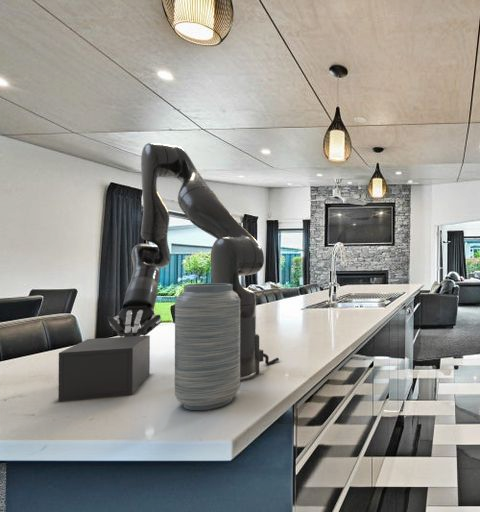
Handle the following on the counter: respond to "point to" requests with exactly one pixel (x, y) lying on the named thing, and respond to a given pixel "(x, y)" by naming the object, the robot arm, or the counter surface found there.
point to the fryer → (103, 367)
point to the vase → (207, 345)
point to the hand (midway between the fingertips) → (128, 347)
